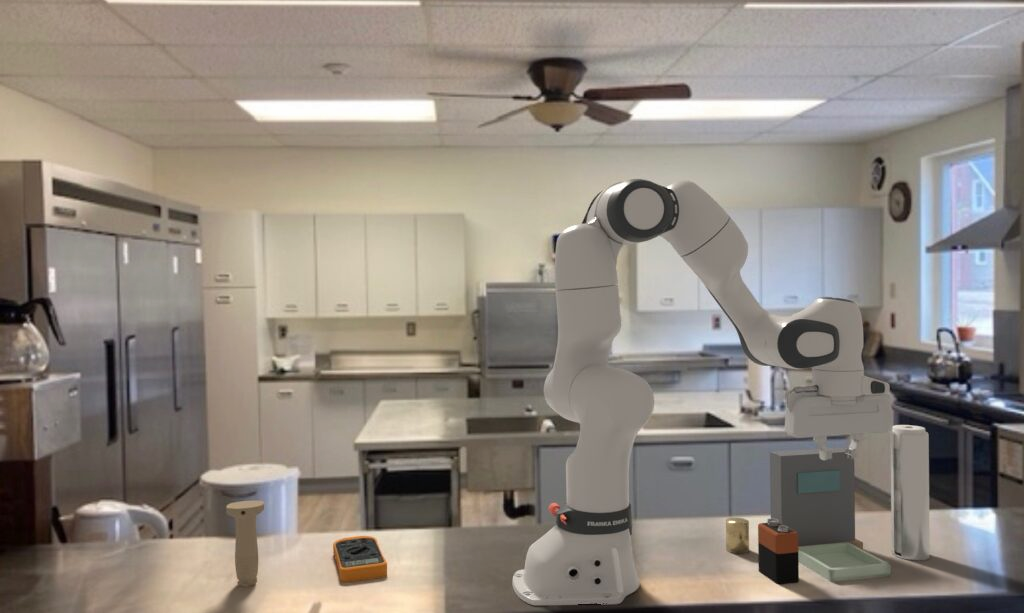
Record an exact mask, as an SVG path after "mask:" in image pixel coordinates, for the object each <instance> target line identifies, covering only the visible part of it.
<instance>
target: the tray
mask: <svg viewBox="0 0 1024 613" xmlns="http://www.w3.org/2000/svg"><path fill="white" fill-rule="evenodd" d="M798 560H799V564H801V565H803V566H804V567H806V568H807V569H809V570H811V571H812V572H814V573H815V574H818V575H819V576H820V577H822V578H824V579H825V580H827V581H829V582H830V583H831V582H842V581H851V580H853V581H854V580H862V579H871V578H872V579H873V578H882V577H884V578H885V577H891V574H892V572H891V569H892V568H891V563H890V562H887V561H885V560H884V559H881V558H879V557H877V556H875V555H874V554H872V553H869V552H867V551H866V550H864V549H863V550H862V549H860V548H858V547H856V546H854V545H852V544H851V543H849V542H845V543H834V544H823V545H812V546H801V547H798Z"/></svg>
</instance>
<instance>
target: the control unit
mask: <svg viewBox="0 0 1024 613" xmlns="http://www.w3.org/2000/svg"><path fill="white" fill-rule="evenodd" d="M845 448H846V447H840V446H839V447H838V446H837V447H827V449H828V450H831V451H832V455H831V456H832V460H822V459H820V457H819V449H818V448H811V449H810V448H809V449H796V450H795V449H794V450H782V451H781V450H778V451H770V452H769V476H770V477H769V480H770V481H769V482H770V483H769V485H770V488H769V490H770V492H769V493H770V497H769V498H770V499H769V500H770V502H769V503H770V519H771V518H773V519H777V520H778V522H779V523H781V524H783V525H785V526H787V527H788V528H790V529H792V530H794V531H795V532H797V533H798V547H801V546H812V545H823V544H834V543H845V542H849V543H851V544H852V545H854V546H856V547H858V548H860V549H862V550H864V542H863V541H861V540H859V539H857V538H856V509H855V508H856V507H855V506H856V504H855V503H856V502H855V501H856V498H855V497H856V495H855V494H856V492H855V491H856V488H855V487H856V486H855V485H856V483H855V478H856V477H855V458H847V457H846V456H845V453H846V452H845Z"/></svg>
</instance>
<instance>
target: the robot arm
mask: <svg viewBox="0 0 1024 613" xmlns="http://www.w3.org/2000/svg"><path fill="white" fill-rule="evenodd" d="M657 237H661V238H663V239H664V240H665V241H666V242H668V243H669V244H670V245H671V246H672V248H673V249H674V250H675V252H676V253H677V254H678V255H679V257H680V258H681V259H682V260H683V261H684V263H686V265H687V266H688V267H689V269H691V270H692V272H693V273H694V274H695V275H696V276H697V277H698V279H700V281H701V282H702V283H703V285H704V286H705V288H706V289H707V291H708V293H709V294H710V295H711V297H712V298H713V299H714V301H715V302H716V303H717V305H718V306H719V307H720V309H721V310H722V312H723V313H724V314H725V316H726V317H727V318H728V320H729V321H730V323H731V324H732V326H733V327H734V329H735V330H736V333H737V335H738V338H739V341H740V345H741V348H742V351H743V352H744V354H745V356H746V357H747V358H748V359H749V360H750V361H751V362H753V363H755V364H757V365H759V366H761V367H762V366H763V367H764V366H765V367H779V368H784V369H791V370H806V369H808V368H811V385H806V386H794V387H793V388H792V389H790V390H789V391H788V393H787V394H786V396H785V397H786V398H785V400H786V409H785V416H784V431H785V432H786V434H787V435H788V436H790V437H793V438H796V439H803V438H804V439H805V438H813V442H814V444H815V446H816V447H817V449H819V457H820V459H822V460H832V456H831V455H832V451H831V450H828V449H827V448H828V447H827V446H826V444H825V443H827V441H828V440H827V439H828V437H834V436H835V437H836V436H849V438H850V439H851V442H850V444H849V445H848V447H846V446H845V447H844V448H845V452H846V453H845V456H846V457H847V458H854V459H858V458H859V449H860V447H861V445H862V444H863V442H864V439H865V438H864V437H865V434H882V433H889V432H890V431H891V430H892V427H893V407H892V402H891V399H890V397H889V396H888V395H887V394H889V393H890V388H891V387H890V384H889V383H888V382H886V381H883V380H879V379H876V378H873V377H870V376H866V375H865V368H864V363H863V361H862V353H863V349H864V325H863V324H864V323H863V318H862V313H861V310H860V308H859V305H858V304H857V303H856V302H854V301H853V300H851V299H846V298H840V297H832V296H831V297H830V296H822V297H821V296H820V297H817V298H815V300H814V301H813V302H812V303H811V304H810V305H809V306H807V307H805V308H804V309H802V310H800V311H798V312H796V313H793V314H791V315H788V316H787V315H786V316H785V315H783V316H782V315H778V314H774V313H772V312H770V311H768V310H766V309H765V308H763V306H761V305H760V302H758V300H757V298H756V297H755V296H754V295H753V293H752V292H751V290H750V288H748V286H747V285H746V283H745V282H744V280H743V278H742V275H741V270H742V268H743V267H744V265H745V263H746V261H747V259H748V255H749V243H748V242H747V240H746V237H745V236H744V234H743V232H742V231H741V229H740V228H739V226H738V225H737V223H736V222H735V221H734V219H733V218H732V217H731V216H730V215H729V214H728V213H727V211H726V210H725V209H724V208H723V207H722V206H721V205H720V204H719V202H717V201H716V200H715V199H714V198H713V197H712V196H711V195H709V193H707V191H705V190H704V189H703V188H702V187H700V186H699V185H698V184H696V183H695V182H694V181H691V180H687V179H686V180H678V181H675V182H673V183H670V184H669V185H667V186H664V185H661V184H658V183H656V182H653V181H651V180H648V179H642V178H632V179H628V180H625V181H619V182H615V183H613V184H612V185H610V186H608V187H606V188H605V189H603V190H601V191H600V192H599V193H597V194H596V195H595V196H594V197H593V199H592V200H591V202H590V204H589V206H588V208H587V211H586V213H585V216H584V217H583V219H582V222H581V223H578V224H575V225H572V226H569V227H567V228H565V229H564V230H562V232H561V233H560V234H559V235H558V237H557V239H556V243H555V245H556V246H555V253H554V254H555V255H554V285H555V286H554V287H555V299H556V300H555V302H556V312H557V314H556V315H557V326H558V327H557V328H558V329H557V344H556V350H555V351H556V352H555V357H554V362H553V366H552V369H551V370H550V371H549V373H548V374H547V376H546V378H545V380H544V384H543V395H544V396H543V397H544V399H545V402H546V404H547V405H548V406H549V408H550V409H552V410H553V411H554V412H555V413H556V414H557V415H559V416H560V417H562V418H563V419H565V420H568V421H570V422H574V423H578V424H579V427H580V428H579V435H578V440H577V443H576V446H575V449H574V451H573V452H572V453H571V454H569V456H568V458H567V459H566V462H565V475H566V476H565V480H566V481H565V482H566V483H565V484H566V488H565V489H566V502H565V503H564V504H562V505H561V506H560V505H559V504H558V503H556V502H552V503H550V504H549V506H548V511H549V513H550V514H551V515H552V516H553V517H555V525H554V526H553V527H552V528H550V530H548V531H547V532H546V533H545V534H543V535H542V536H541V537H540V538H538V539H537V540H536V541H534V542H533V543H532V544H531V545H530V546H529V548H528V550H527V552H526V557H525V562H524V563H525V564H524V569H523V568H522V569H519V570H517V571H515V572H514V574H513V576H512V582H511V584H512V589H513V591H514V592H515V594H516V595H517V597H518V598H519V599H520V600H522V601H523V602H525V603H526V604H528V605H531V606H579V605H578V604H590V603H593V604H594V603H597V604H601V605H618V604H621V603H623V601H624V600H625V598H626V597H627V596H629V595H631V594H633V593H634V592H636V591H637V590H638V589H639V587H640V585H641V584H640V579H639V576H638V573H637V569H636V565H635V560H634V554H633V553H634V552H633V546H632V540H631V539H632V537H631V536H632V535H633V512H632V504H631V503H630V497H629V496H630V486H629V484H630V468H629V467H630V461H631V455H632V450H633V447H634V443H635V440H636V438H637V435H638V433H639V432H640V430H641V429H643V427H645V426H646V425H647V424H648V423H649V420H650V419H651V417H652V415H653V414H654V413H653V412H654V409H655V396H654V392H653V389H652V387H651V385H650V384H649V383H648V382H647V380H646V379H644V378H643V377H642V376H640V375H638V374H635V373H634V372H632V371H630V370H628V369H626V368H622V367H615V366H609V365H610V364H609V360H610V352H611V349H612V348H611V347H612V344H613V341H614V339H615V338H616V337H617V336H618V335H619V333H620V331H621V330H622V329H621V328H622V318H621V317H622V316H621V305H620V304H621V303H620V302H621V301H620V292H619V291H620V289H619V280H618V270H617V265H618V264H617V262H618V257H619V253H620V251H621V249H622V248H623V247H624V246H631V245H636V244H637V245H638V244H639V243H644V242H648V241H651V240H653V239H656V238H657ZM603 603H604V604H603ZM606 603H607V604H606Z"/></svg>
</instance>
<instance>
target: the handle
mask: <svg viewBox="0 0 1024 613" xmlns="http://www.w3.org/2000/svg"><path fill="white" fill-rule="evenodd" d="M264 510H265V502H264V500H243V501H235V502H230V503H228V504H227V505H226V515H228V516H229V517H233V518H234V519H235V547H234V548H235V549H234V550H235V551H234V566H235V574H236V578H237V580H238V581H237V582H236V583H237V587H243V588H248V587H250V586H256V584H257V582H258V574H259V572H258V571H259V547H258V535H257V534H258V533H257V524H256V519H257V516H259V514H261V513H262V512H263V511H264Z"/></svg>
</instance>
